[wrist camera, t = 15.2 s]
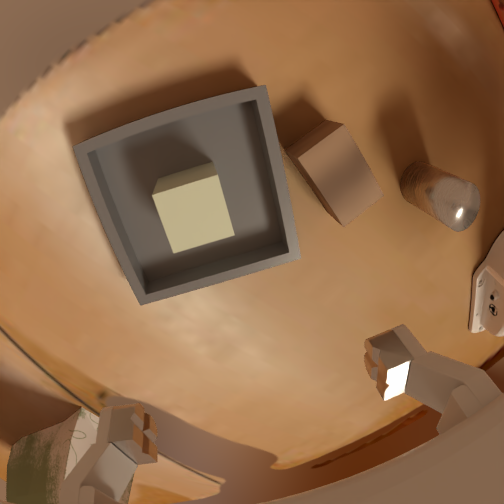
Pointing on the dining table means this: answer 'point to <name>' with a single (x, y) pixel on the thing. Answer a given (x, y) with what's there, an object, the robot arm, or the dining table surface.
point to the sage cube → (192, 207)
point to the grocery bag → (51, 460)
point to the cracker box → (499, 9)
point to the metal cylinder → (441, 195)
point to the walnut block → (336, 171)
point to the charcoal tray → (182, 158)
